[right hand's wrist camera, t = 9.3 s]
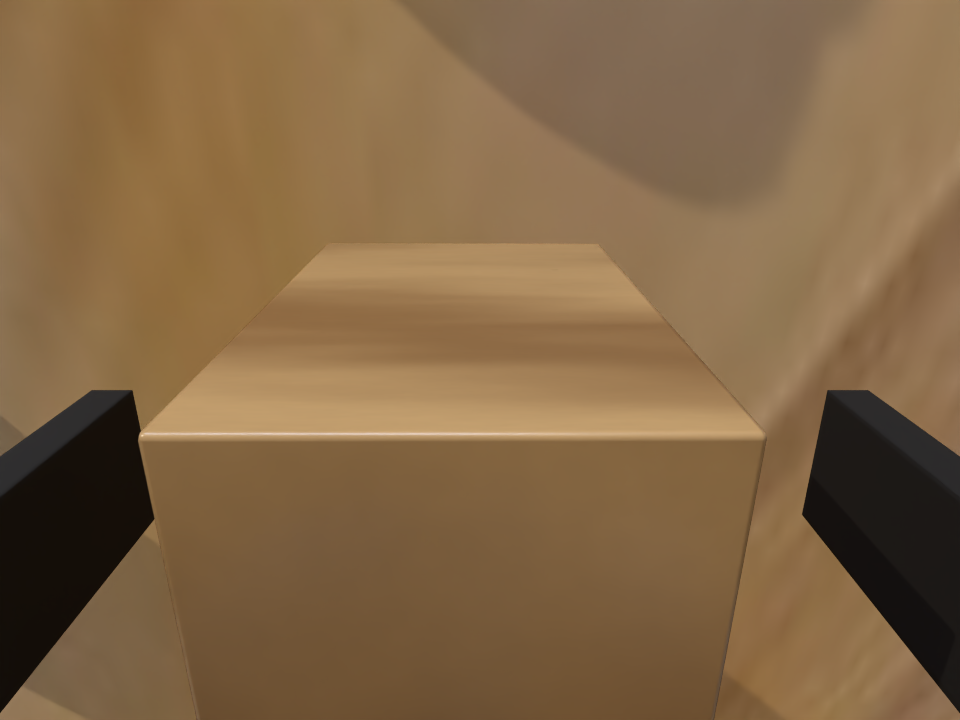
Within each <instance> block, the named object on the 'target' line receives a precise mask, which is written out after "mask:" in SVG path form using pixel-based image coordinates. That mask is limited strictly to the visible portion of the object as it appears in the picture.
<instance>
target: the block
mask: <svg viewBox="0 0 960 720" xmlns="http://www.w3.org/2000/svg"><path fill="white" fill-rule="evenodd" d="M138 442H139V447H140V452H141V457H142V461H143V466H144V471H145V476H146V480H147V485H148V490H149V495H150V499H151V504H152V509H153V514H154V518H155V523H156V528H157V533H158V537H159V542H160V547H161V552H162V556H163V561H164V566H165V571H166V575H167V580H168V585H169V590H170V594H171V599H172V604H173V609H174V613H175V618H176V623H177V628H178V632H179V637H180V642H181V647H182V651H183V656H184V661H185V666H186V670H187V675H188V680H189V685H190V689H191V694H192V699H193V704H194V708H195V713H196V718H197V720H714V716H715V711H716V706H717V700H718V695H719V690H720V684H721V679H722V674H723V668H724V663H725V658H726V652H727V647H728V642H729V636H730V631H731V626H732V620H733V615H734V610H735V605H736V599H737V594H738V589H739V583H740V578H741V573H742V567H743V562H744V557H745V551H746V546H747V541H748V535H749V530H750V525H751V519H752V514H753V509H754V503H755V498H756V493H757V487H758V482H759V477H760V471H761V466H762V461H763V455H764V450H765V445H766V434H765V431H764V430H763V429H762V428H761V427H760V426H759V425H758V423H757V422H756V421H755V420H754V419H753V418H752V417H751V416H750V414H749V413H748V412H747V411H746V410H745V409H744V408H743V406H742V405H741V404H740V403H739V402H738V401H737V400H736V399H735V397H734V396H733V395H732V394H731V393H730V392H729V391H728V390H727V388H726V387H725V386H724V385H723V384H722V383H721V382H720V381H719V379H718V378H717V377H716V376H715V375H714V374H713V373H712V372H711V370H710V369H709V368H708V367H707V366H706V365H705V364H704V362H703V361H702V360H701V359H700V358H699V357H698V356H697V355H696V353H695V352H694V351H693V350H692V349H691V348H690V347H689V346H688V344H687V343H686V342H685V341H684V340H683V339H682V338H681V337H680V335H679V334H678V333H677V332H676V331H675V330H674V329H673V328H672V326H671V325H670V324H669V323H668V322H667V321H666V320H665V318H664V317H663V316H662V315H661V314H660V313H659V312H658V311H657V309H656V308H655V307H654V306H653V305H652V304H651V303H650V302H649V300H648V299H647V298H646V297H645V296H644V295H643V294H642V293H641V291H640V290H639V289H638V288H637V287H636V286H635V285H634V283H633V282H632V281H631V280H630V279H629V278H628V277H627V276H626V274H625V273H624V272H623V271H622V270H621V269H620V268H619V267H618V265H617V264H616V263H615V262H614V261H613V260H612V259H611V258H610V256H609V255H608V254H607V253H606V252H605V251H604V250H603V249H602V247H601V246H600V245H598V244H427V243H329V244H327V245H326V246H325V247H324V248H323V249H322V250H321V251H320V252H319V253H318V254H317V255H316V256H315V257H314V258H313V259H312V260H311V261H310V262H309V263H308V264H307V265H306V266H305V267H304V268H303V269H302V270H301V271H300V272H299V273H298V274H297V275H296V276H295V277H294V278H293V279H292V280H291V281H290V282H289V283H288V284H287V285H286V286H285V287H284V288H283V289H282V290H281V291H280V292H279V293H278V294H277V295H276V296H275V297H274V298H273V299H272V300H271V301H270V302H269V303H268V304H267V305H266V306H265V307H264V308H263V309H262V310H261V311H260V312H259V313H258V314H257V315H256V316H255V317H254V318H253V319H252V320H251V321H250V322H249V323H248V324H247V325H246V326H245V327H244V328H243V329H242V330H241V331H240V332H239V333H238V334H237V335H236V336H235V337H234V338H233V339H232V340H231V341H230V342H229V343H228V344H227V345H226V346H225V347H224V348H223V349H222V350H221V351H220V352H219V353H218V354H217V355H216V356H215V357H214V359H213V360H212V361H211V362H210V363H209V364H208V365H207V366H206V367H205V368H204V369H203V370H202V371H201V372H200V373H199V374H198V375H197V376H196V377H195V378H194V379H193V380H192V381H191V382H190V383H189V384H188V385H187V386H186V387H185V388H184V389H183V390H182V391H181V392H180V393H179V394H178V395H177V396H176V397H175V398H174V399H173V400H172V401H171V402H170V403H169V404H168V405H167V406H166V407H165V408H164V409H163V410H162V411H161V412H160V413H159V414H158V415H157V416H156V417H155V418H154V419H153V420H152V421H151V422H150V423H149V424H148V425H147V426H146V427H145V428H144V429H143V430H142V431H141V432H140V434H139V439H138Z"/></svg>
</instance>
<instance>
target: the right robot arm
mask: <svg viewBox="0 0 960 720" xmlns="http://www.w3.org/2000/svg"><path fill="white" fill-rule="evenodd" d="M140 432H141V430H140V425H139V420H138V415H137V410H136V405H135V401H134V396H133V391H132V390H92V391H90V392H89V393H87V394H86V395H85V396H83V397H82V398H81V399H79V400H78V401H76V402H75V403H74V404H72V405H71V406H69V407H68V408H67V409H65V410H64V411H63V412H61V413H60V414H58V415H57V416H56V417H54V418H53V419H52V420H50V421H49V422H47V423H46V424H45V425H43V426H42V427H40V428H39V429H38V430H36V431H35V432H34V433H32V434H31V435H29V436H28V437H27V438H25V439H24V440H22V441H21V442H20V443H18V444H17V445H16V446H14V447H13V448H11V449H10V450H9V451H7V452H6V453H5V454H3V455H2V456H0V713H1V711H2V710H3V709H4V708H5V706H6V705H7V704H8V703H9V701H10V700H11V699H12V698H13V696H14V695H15V694H16V693H17V691H18V690H19V689H20V687H21V686H22V685H23V684H24V682H25V681H26V680H27V679H28V677H29V676H30V675H31V674H32V672H33V671H34V670H35V669H36V667H37V666H38V665H39V664H40V662H41V661H42V660H43V659H44V657H45V656H46V655H47V654H48V652H49V651H50V650H51V648H52V647H53V646H54V645H55V643H56V642H57V641H58V640H59V638H60V637H61V636H62V635H63V633H64V632H65V631H66V630H67V628H68V627H69V626H70V625H71V623H72V622H73V621H74V620H75V618H76V617H77V616H78V615H79V613H80V612H81V611H82V609H83V608H84V607H85V606H86V604H87V603H88V602H89V601H90V599H91V598H92V597H93V596H94V594H95V593H96V592H97V591H98V589H99V588H100V587H101V586H102V584H103V583H104V582H105V581H106V579H107V578H108V577H109V576H110V574H111V573H112V572H113V570H114V569H115V568H116V567H117V565H118V564H119V563H120V562H121V560H122V559H123V558H124V557H125V555H126V554H127V553H128V552H129V550H130V549H131V548H132V547H133V545H134V544H135V543H136V542H137V540H138V539H139V538H140V537H141V535H142V534H143V533H144V531H145V530H146V529H147V528H148V526H149V525H150V524H151V523H152V521H153V520H154V519H155V518H154V514H153V509H152V504H151V499H150V495H149V490H148V485H147V480H146V476H145V471H144V466H143V461H142V457H141V452H140V447H139V442H138V439H139V434H140ZM802 515H803V516H804V518H805V519H806V520H807V521H808V523H809V524H810V525H811V526H812V528H813V529H814V530H815V531H816V533H817V534H818V535H819V537H820V538H821V539H822V540H823V542H824V543H825V544H826V545H827V547H828V548H829V549H830V550H831V552H832V553H833V554H834V555H835V557H836V558H837V559H838V560H839V562H840V563H841V564H842V565H843V567H844V568H845V569H846V570H847V572H848V573H849V574H850V576H851V577H852V578H853V579H854V581H855V582H856V583H857V584H858V586H859V587H860V588H861V589H862V591H863V592H864V593H865V594H866V596H867V597H868V598H869V599H870V601H871V602H872V603H873V604H874V606H875V607H876V608H877V609H878V611H879V612H880V613H881V615H882V616H883V617H884V618H885V620H886V621H887V622H888V623H889V625H890V626H891V627H892V628H893V630H894V631H895V632H896V633H897V635H898V636H899V637H900V638H901V640H902V641H903V642H904V643H905V645H906V646H907V647H908V648H909V650H910V651H911V652H912V654H913V655H914V656H915V657H916V659H917V660H918V661H919V662H920V664H921V665H922V666H923V667H924V669H925V670H926V671H927V672H928V674H929V675H930V676H931V677H932V679H933V680H934V681H935V682H936V684H937V685H938V686H939V687H940V689H941V690H942V691H943V693H944V694H945V695H946V696H947V698H948V699H949V700H950V701H951V703H952V704H953V705H954V706H955V708H956V709H957V710H958V711H959V713H960V456H958V455H957V454H955V453H954V452H953V451H951V450H950V449H949V448H947V447H946V446H944V445H943V444H942V443H940V442H939V441H938V440H936V439H935V438H933V437H932V436H931V435H929V434H928V433H926V432H925V431H924V430H922V429H921V428H920V427H918V426H917V425H915V424H914V423H913V422H911V421H910V420H908V419H907V418H906V417H904V416H903V415H902V414H900V413H899V412H897V411H896V410H895V409H893V408H892V407H891V406H889V405H888V404H886V403H885V402H884V401H882V400H881V399H879V398H878V397H877V396H875V395H874V394H873V393H871V392H870V391H868V390H828V391H827V396H826V401H825V405H824V410H823V415H822V420H821V425H820V430H819V435H818V440H817V444H816V449H815V454H814V459H813V464H812V469H811V474H810V478H809V483H808V488H807V493H806V498H805V503H804V508H803V512H802Z"/></svg>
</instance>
